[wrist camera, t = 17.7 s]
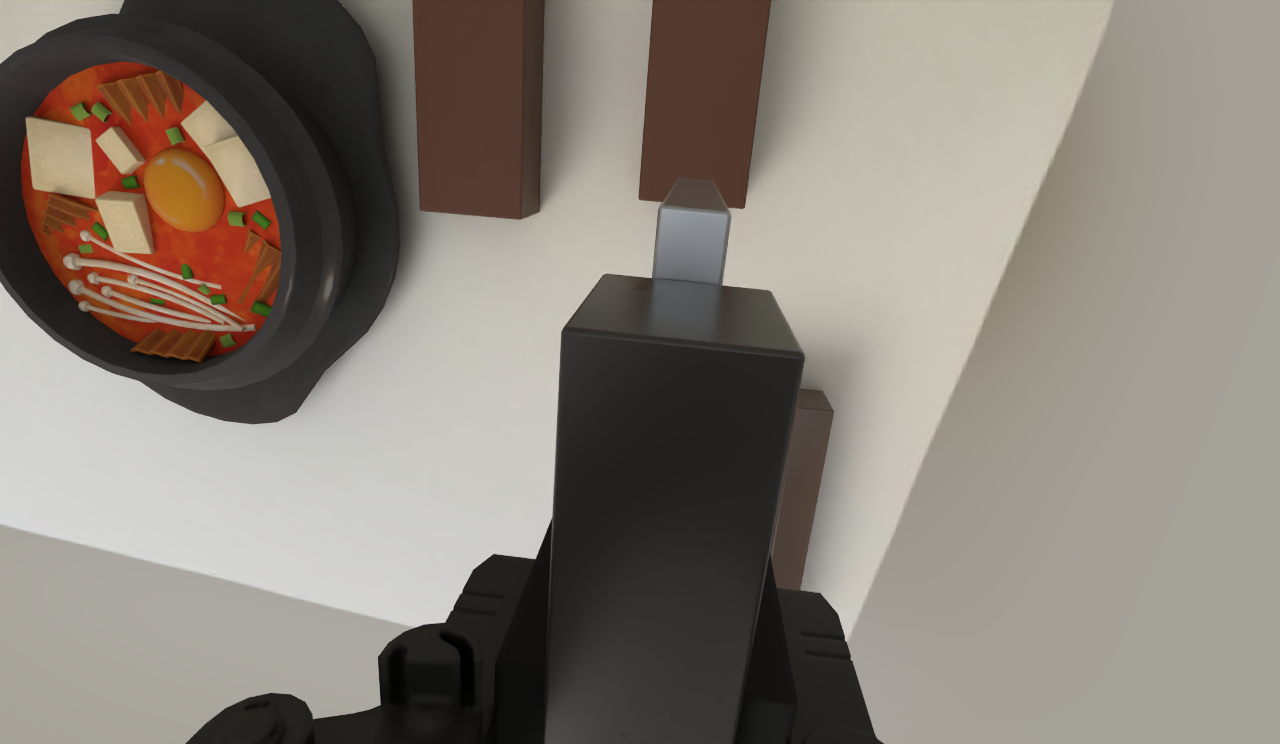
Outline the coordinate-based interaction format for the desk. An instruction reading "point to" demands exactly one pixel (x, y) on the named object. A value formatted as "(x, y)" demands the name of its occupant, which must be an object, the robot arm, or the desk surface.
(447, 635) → the robot arm
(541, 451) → the desk surface
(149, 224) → the casserole
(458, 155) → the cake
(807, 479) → the knife stand
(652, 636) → the knife
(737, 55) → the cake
